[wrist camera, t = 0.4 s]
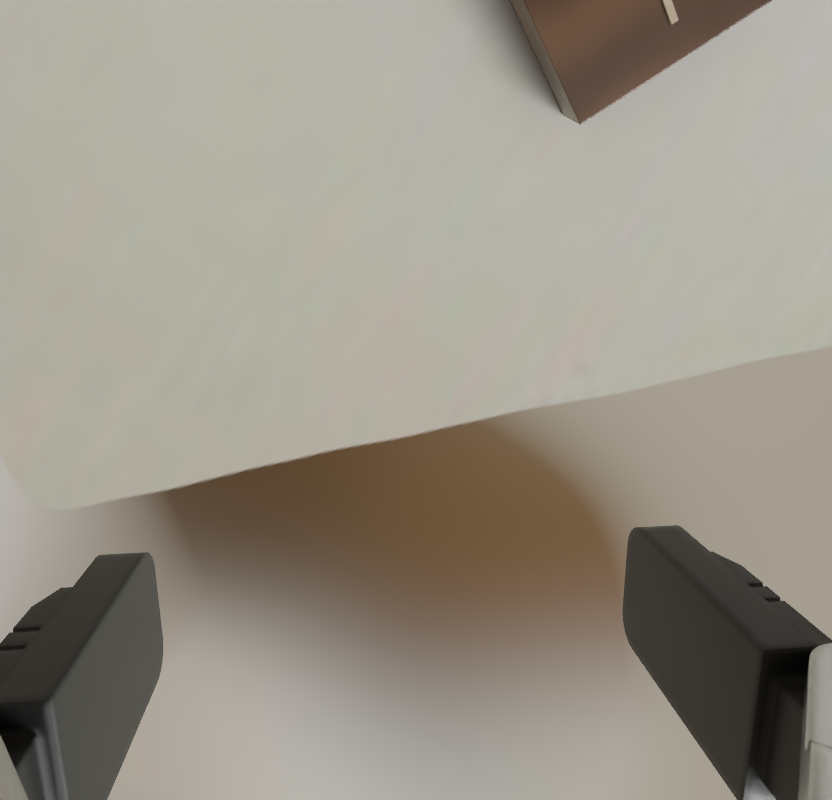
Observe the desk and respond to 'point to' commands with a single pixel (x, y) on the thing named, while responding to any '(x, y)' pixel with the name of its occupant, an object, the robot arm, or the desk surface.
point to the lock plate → (618, 43)
